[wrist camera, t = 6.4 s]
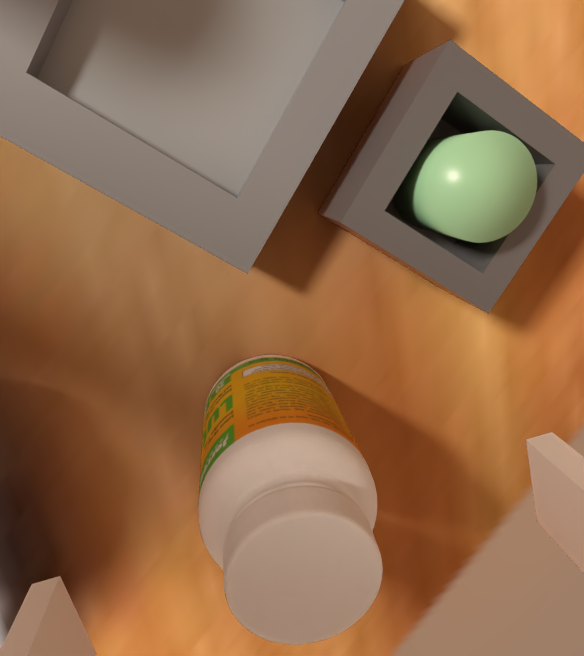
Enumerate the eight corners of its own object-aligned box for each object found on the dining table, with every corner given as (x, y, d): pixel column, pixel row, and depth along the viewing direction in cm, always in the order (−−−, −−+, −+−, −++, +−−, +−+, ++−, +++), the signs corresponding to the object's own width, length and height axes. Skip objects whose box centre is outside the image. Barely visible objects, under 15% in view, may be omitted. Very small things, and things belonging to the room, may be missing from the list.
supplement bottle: (209, 346, 21) (203, 481, 12) (340, 356, 22) (429, 489, 13) (198, 466, 23) (185, 670, 13) (322, 472, 23) (390, 667, 14)
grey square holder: (317, 212, 20) (340, 222, 16) (403, 65, 19) (450, 39, 15) (441, 288, 22) (488, 313, 18) (527, 156, 21) (597, 152, 17)
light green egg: (374, 200, 19) (412, 207, 16) (423, 120, 19) (475, 107, 15) (443, 244, 20) (495, 261, 16) (491, 169, 20) (557, 168, 16)
